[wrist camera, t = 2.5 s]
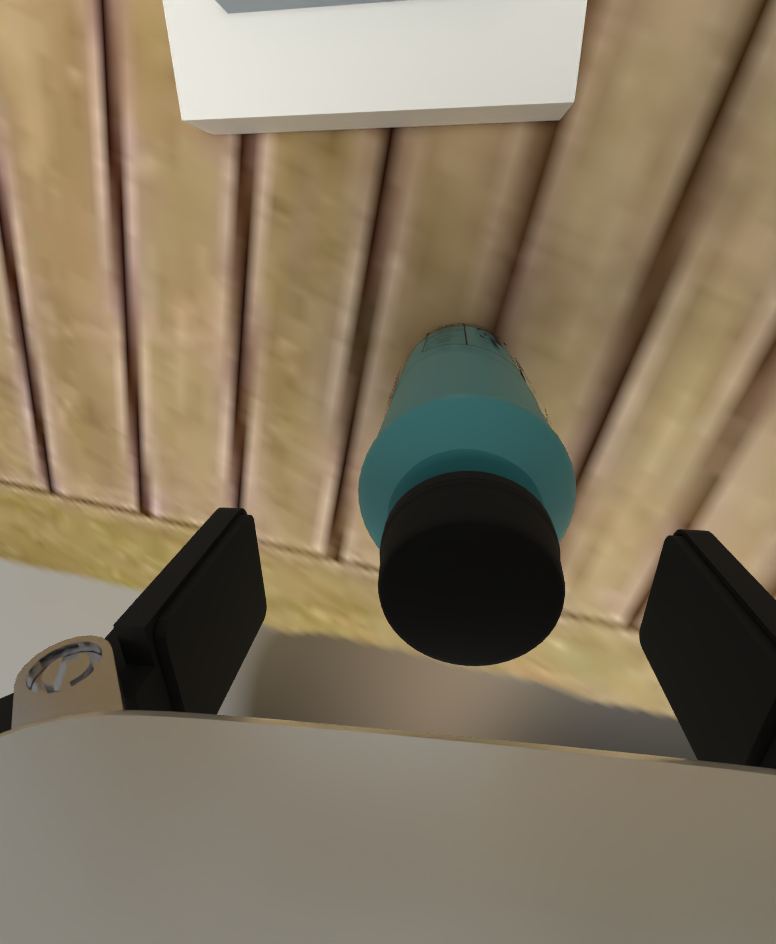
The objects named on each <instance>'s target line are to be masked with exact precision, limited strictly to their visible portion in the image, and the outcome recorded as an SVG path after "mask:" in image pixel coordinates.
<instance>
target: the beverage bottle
mask: <svg viewBox="0 0 776 944" xmlns="http://www.w3.org/2000/svg"><path fill="white" fill-rule="evenodd" d="M451 326H452V324H451ZM442 327H443V326H442ZM446 327H447V325H446ZM476 327H477V325H476ZM479 328H480V326H479V327H478V328H474V327H468V326H465V324H463V326H454V327H450V326H448V328H444V329H441V328H440V329H441V330H439V329H438V331H435V332H434V333H431V335H430V334H429V333H428V334H429V336H428V334H427V337H426V338H425V339H423V340H422V341H421V342H420V343H419V344H418V345H417V346H416V347H415V348H414V350H413V351H412V353H411V354H410V356H409V358H408V360H407V362H406V364H405V367H404V369H403V372H402V374H401V377H400V380H398V381H399V382H398V384H397V387H396V386H394V387H396V389H395V391H394V390H392V391H394V395H392V394H391V395H392V396H393V398H392V397H391V396H390V395H389V396H390V397H391V398H392V401H391V405H390V403H389V405H390V406H389V405H388V406H389V410H387V411H388V412H387V414H386V413H385V414H386V417H385V419H384V421H383V424H382V426H381V429H380V431H379V433H378V436H377V438H376V439H375V441H374V442H373V444H372V445H371V447H370V449H369V451H368V453H367V455H366V458H365V460H364V463H363V466H362V469H361V473H360V478H359V488H358V493H359V505H360V510H361V514H362V517H363V520H364V523H365V526H366V528H367V530H368V532H369V534H370V536H371V538H372V539H373V541H374V542H375V544H376V545H377V547H378V548H379V549H380V570H379V579H378V593H379V598H380V602H381V607H382V609H383V612H384V615H385V617H386V619H387V621H388V623H389V624H390V625H391V627H392V628H393V630H394V631H395V632H396V633H397V634H398V635H399V636H400V638H402V639H403V640H404V641H405V642H406V643H407V644H409V645H410V646H411V647H413V648H414V649H416V650H417V651H419V652H421V653H423V654H425V655H427V656H429V657H431V658H434V659H437V660H440V661H443V662H447V663H451V664H456V665H464V666H485V665H493V664H499V663H502V662H506V661H509V660H512V659H515V658H518V657H520V656H522V655H524V654H526V653H527V652H529V651H530V650H532V649H533V648H535V647H536V646H537V645H539V644H540V643H541V642H542V641H543V640H544V639H545V638H546V637H547V636H548V635H549V634H550V633H551V631H552V630H553V628H554V627H555V625H556V623H557V621H558V619H559V617H560V615H561V612H562V609H563V604H564V598H565V582H564V576H563V571H562V566H561V561H560V547H559V542H560V541H561V539H562V538H563V536H564V534H565V532H566V530H567V528H568V526H569V523H570V520H571V517H572V514H573V511H574V506H575V500H576V482H575V474H574V470H573V466H572V463H571V460H570V458H569V456H568V453H567V451H566V449H565V447H564V445H563V444H562V442H561V440H560V439H559V437H558V436H557V434H556V433H555V432H554V431H553V430H552V429H551V427H550V426H549V424H548V422H547V421H546V419H545V417H544V415H543V414H542V412H541V410H540V408H539V405H538V403H537V401H536V399H535V397H534V395H533V394H532V392H531V390H530V389H529V387H528V385H527V384H526V381H525V379H524V376H523V374H522V372H521V370H520V372H521V373H520V372H519V369H518V368H517V367H516V365H515V361H514V360H512V358H511V356H510V355H509V353H508V352H507V350H506V349H505V347H504V346H503V345H502V344H501V343H500V341H499V340H498V338H497V337H498V336H497V337H496V336H494V335H493V334H491V335H490V334H489V333H487V332H485V330H484V331H483V330H482V329H479ZM482 328H483V327H482ZM492 333H493V332H492ZM495 335H496V334H495ZM500 339H501V338H500ZM504 344H505V343H504ZM505 345H506V344H505ZM514 357H515V356H514ZM515 360H516V359H515ZM516 361H517V360H516ZM517 364H519V363H518V361H517ZM519 365H520V364H519ZM517 366H518V365H517ZM518 367H519V366H518ZM520 367H521V366H520ZM400 370H401V369H400ZM522 371H523V369H522ZM523 372H524V371H523ZM399 374H400V371H399ZM524 374H525V373H524ZM527 378H528V377H527ZM396 380H397V378H396ZM528 381H529V380H528ZM529 382H530V381H529ZM395 383H396V382H395ZM394 385H395V384H394ZM534 389H535V388H534ZM534 392H535V391H534ZM390 400H391V399H390ZM390 400H389V401H390ZM389 401H388V402H389ZM386 408H387V407H386ZM545 411H546V410H545ZM546 415H547V414H546Z"/></svg>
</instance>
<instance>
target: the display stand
mask: <svg viewBox="0 0 776 944" xmlns="http://www.w3.org/2000/svg"><path fill="white" fill-rule="evenodd" d="M163 5H164V12H165V18H166V24H167V30H168V37H169V43H170V49H171V55H172V62H173V68H174V74H175V80H176V87H177V93H178V99H179V105H180V112H181V118H182V121H184V122H186V123H188V124H190V125H192V126H194V127H197V128H199V129H201V130H203V131H205V132H207V133H209V134H211V135H227V134H251V133H274V132H298V131H321V130H344V129H368V128H391V127H415V126H438V125H462V124H485V123H508V122H532V121H555V120H560V119H561V118H562V117H563V116H564V114H565V113H566V112H567V111H568V109H569V108H570V107H571V106H572V104H573V103H574V101H575V93H576V85H577V77H578V69H579V61H580V54H581V46H582V38H583V30H584V22H585V14H586V6H587V0H163Z"/></svg>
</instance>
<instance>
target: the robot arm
mask: <svg viewBox="0 0 776 944" xmlns="http://www.w3.org/2000/svg"><path fill="white" fill-rule="evenodd" d="M266 607H267V605H266V597H265V591H264V584H263V577H262V570H261V564H260V557H259V550H258V543H257V537H256V530H255V523H254V518H253V516H252V515H247V513H246V511H245V510H244V509H242V508H218V509H217V510H216V511H215V512H214V513H213V514H212V516H211V517H210V518H209V519H208V520H207V521H206V522H205V523H204V524H203V526H202V527H201V528H200V529H199V530H198V531H197V532H196V533H195V535H194V536H193V537H192V538H191V539H190V540H189V541H188V542H187V543H186V545H185V546H184V547H183V548H182V549H181V550H180V551H179V552H178V553H177V555H176V556H175V557H174V558H173V559H172V560H171V561H170V562H169V564H168V565H167V566H166V567H165V568H164V569H163V570H162V571H161V572H160V574H159V575H158V576H157V577H156V578H155V579H154V580H153V581H152V582H151V584H150V585H149V586H148V587H147V588H146V589H145V590H144V591H143V593H142V594H141V595H140V596H139V597H138V598H137V599H136V600H135V602H134V603H133V604H132V605H131V606H130V607H129V608H128V609H127V610H126V612H125V613H124V614H123V615H122V616H121V617H120V618H119V619H118V621H117V622H116V623H115V624H114V629H113V630H112V631H111V632H110V633H109V634H108V635H107V637H106V638H105V639H103V638H102V637H97V636H79V637H75V638H72V639H67V640H64V641H61V642H59V643H57V644H55V645H52V646H50V647H48V648H47V649H45V650H44V651H42V652H40V653H39V654H37V655H36V656H35V657H34V658H32V659H31V660H30V661H29V662H28V663H27V664H26V665H25V666H24V667H23V668H22V670H21V671H20V672H19V674H18V675H17V678H16V681H15V684H14V693H12V694H10V695H8V696H5V697H3V698H1V699H0V944H776V600H775V599H774V598H773V597H772V596H771V595H770V594H769V593H768V592H767V591H766V590H765V589H764V588H763V586H762V585H761V584H760V583H759V582H758V581H757V580H756V579H755V578H754V577H753V576H752V575H751V574H750V573H749V572H748V571H747V570H746V569H745V568H744V567H743V565H742V564H741V563H740V562H739V561H738V560H737V559H736V558H735V557H734V556H733V555H732V554H731V553H730V552H729V551H728V550H727V549H726V548H725V547H724V546H723V544H722V543H721V542H720V541H719V540H718V539H717V538H716V537H715V536H714V535H713V534H712V533H711V532H709V531H702V530H681V529H679V530H677V531H676V532H675V533H674V535H673V536H667V538H666V539H665V541H664V544H663V548H662V552H661V555H660V559H659V562H658V566H657V570H656V573H655V577H654V580H653V584H652V588H651V591H650V595H649V598H648V602H647V606H646V609H645V613H644V616H643V620H642V623H641V627H640V632H639V638H640V644H641V647H642V649H643V651H644V653H645V655H646V657H647V659H648V661H649V663H650V665H651V667H652V669H653V671H654V673H655V675H656V677H657V679H658V681H659V683H660V685H661V687H662V689H663V691H664V693H665V695H666V697H667V699H668V701H669V703H670V705H671V707H672V709H673V711H674V713H675V715H676V717H677V719H678V721H679V723H680V725H681V727H682V729H683V731H684V733H685V735H686V737H687V739H688V741H689V743H690V745H691V747H692V749H693V751H694V753H695V755H696V757H697V759H698V760H692V759H683V758H673V757H663V756H653V755H643V754H633V753H623V752H614V751H603V750H594V749H584V748H574V747H564V746H554V745H544V744H533V743H524V742H523V743H522V742H514V741H503V740H493V739H482V738H472V737H461V736H451V735H440V734H430V733H419V732H408V731H398V730H388V729H376V728H365V727H355V726H342V725H332V724H320V723H310V722H309V723H308V722H299V721H287V720H276V719H265V718H254V717H241V716H228V715H217V713H218V711H219V709H220V707H221V705H222V703H223V701H224V699H225V697H226V695H227V693H228V691H229V689H230V687H231V685H232V683H233V681H234V679H235V677H236V675H237V673H238V671H239V669H240V667H241V665H242V663H243V661H244V659H245V657H246V655H247V653H248V651H249V649H250V647H251V645H252V642H253V641H254V638H255V637H256V635H257V633H258V631H259V629H260V627H261V625H262V623H263V621H264V618H265V615H266Z"/></svg>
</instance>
